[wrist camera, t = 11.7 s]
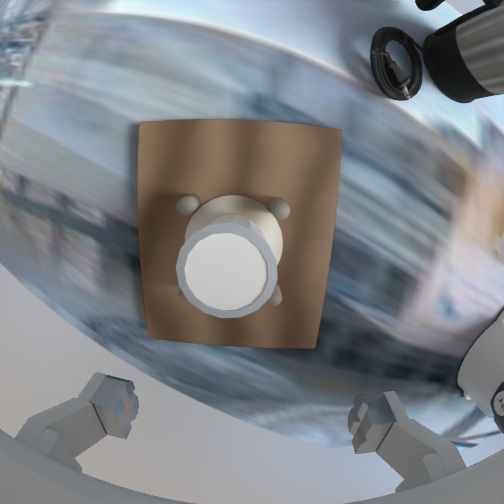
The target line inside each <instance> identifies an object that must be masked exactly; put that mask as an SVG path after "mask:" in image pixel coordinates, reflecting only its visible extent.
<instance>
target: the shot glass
mask: <svg viewBox="0 0 504 504" xmlns="http://www.w3.org/2000/svg"><path fill="white" fill-rule="evenodd" d="M176 272H177V277H178V283H179V286H180V288H181V290H182V291H183V293H184V295H185V296H186V298H187V299H188V301H189V302H190V303H192V304H193V305H194V306H196V307H197V308H198V309H200V310H201V311H202V312H204V313H206V314H210V315H213V316H216V317H219V318H237V317H243V316H245V315H247V314H250V313H252V312H254V311H257V310H258V309H259V308H260V307H261V306H262V305H263V304H264V303H265V302H266V301H267V300H268V299H269V298H270V297H271V295H272V293H273V290H274V287H275V285H276V282H277V280H278V278H277V260H276V258H275V256H274V254H273V252H272V250H271V248H270V246H269V244H268V242H267V241H266V239H265V237H264V235H263V234H262V232H261V230H260V229H259V227H258V226H257V225H256V224H255V223H254V222H253V221H251V220H250V219H249V218H247V217H243V216H240V215H237V214H234V215H223V216H222V217H220V218H218V219H216V220H214V221H212V222H210V223H209V224H207V225H206V226H204V227H202V228H201V229H199V230H198V231H196V232H195V233H193V234H192V235H191V236H190V238H189V239H188V240H187V241H186V243H185V244H184V245H183V246H182V248H181V249H180V252H179V256H178V260H177V264H176Z"/></svg>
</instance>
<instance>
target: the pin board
mask: <svg viewBox="0 0 504 504" xmlns="http://www.w3.org/2000/svg"><path fill="white" fill-rule="evenodd" d="M341 144H342V129H335V128H328V127H321V126H313V125H304V124H294V123H283V122H270V121H253V120H222V119H196V120H166V121H149V122H140V125H139V143H138V177H137V200H138V235H139V253H140V267H141V279H142V289H143V299H144V308H145V316H146V324H147V331H148V338H151V339H159V340H167V341H176V342H186V343H196V344H208V345H221V346H237V347H258V348H315V346H316V341H317V336H318V331H319V326H320V320H321V315H322V309H323V303H324V297H325V291H326V285H327V279H328V272H329V265H330V258H331V250H332V243H333V235H334V226H335V217H336V208H337V198H338V187H339V174H340V161H341ZM234 214H237V215H240V216H243V217H247V218H249V219H250V220H251V221H253V222H254V223H255V224H256V225H257V226H258V227H259V229H260V230H261V232H262V234H263V235H264V237H265V239H266V241H267V242H268V244H269V246H270V248H271V250H272V252H273V254H274V256H275V258H276V260H277V278H278V280H277V282H276V285H275V287H274V290H273V293H272V295H271V297H270V298H269V299H268V300H267V301H266V302H265V303H264V304H263V305H262V306H261V307H260V308H259V309H258V310H257V311H254V312H252V313H250V314H247V315H245V316H243V317H237V318H219V317H216V316H213V315H210V314H206V313H204V312H202V311H201V310H200V309H198V308H197V307H196V306H194V305H193V304H192V303H190V302H189V301H188V299H187V298H186V296H185V295H184V293H183V291H182V290H181V288H180V286H179V283H178V277H177V272H176V264H177V260H178V256H179V252H180V249H181V248H182V246H183V245H184V244H185V243H186V241H187V240H188V239H189V238H190V236H191V235H192V234H193V233H195V232H196V231H198V230H199V229H201V228H202V227H204V226H206V225H207V224H209V223H210V222H212V221H214V220H216V219H218V218H220V217H222V216H223V215H234Z"/></svg>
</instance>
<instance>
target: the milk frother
mask: <svg viewBox="0 0 504 504" xmlns="http://www.w3.org/2000/svg"><path fill="white" fill-rule="evenodd" d="M444 1H445V0H415V3H416V5H417V6H418V8H419V9H420V10H423V11H429V10H432V9H434V8H436V7H438V6H439V5H440V4H441V3H442V2H444ZM483 1H484V3H485V5H483V6H481V7H479V8H477V9H475V10H473V11H471V12H468V13H466V14H464V15H462V16H461V17H459V18H457V19H455V20H454V21H452V22H450V23H449V24H447V25H445V26H443V27H441V28H439V29H438V30H436V31H435V32H434V33H432V34H430V35H429V36H428V37H427V38H426V39H425V41H424V44H423V48H422V47H421V46H420V45H418V44H417V43H416V42H415V41H414V40H413V39H412V38H411V37H410V36H409V35H408V34H406V33H405V32H403V31H402V30H400V29H398V28H394V27H383V28H381V29H379V30H378V31H377V32H376V33H375V35H374V36H373V39H372V43H371V50H370V61H371V69H372V72H373V76H374V78H375V81H376V83H377V85H378V86H379V88H380V89H381V90H382V92H383V93H384V94H385V95H387V96H388V97H389V98H391V99H394V100H399V101H401V100H403V101H404V100H409V99H410V98H412V97H413V96H415V95H416V94H417V93H418V91H419V89H420V87H421V85H422V64H421V60H420V57H419V54H418V52H417V50H416V48H415V46H416V47H417V48H418V49H419V50H420V51H422V52H423V57H424V61H425V64H426V67H427V70H428V72H429V73H430V75H431V77H432V79H433V80H434V82H435V83H436V85H437V86H438V87H439V88H440V89H441V90H442V91H443V92H444V93H445V94H446V95H447V96H448V97H450V98H451V99H453V100H454V101H456V102H460V103H470V102H472V101H473V100H475V99H479V98H483V97H488V96H493V95H500V94H504V0H483ZM391 40H394V41H397V42H399V43H400V44H402V45H403V46H404V48H405V49H406V50H407V52H408V54H409V56H410V59H411V63H412V79H411V82H410V84H409V86H408V87H406V85H407V84H408V83H409V81H410V78H408V77H406V76H405V74H404V73H403V71H402V70H401V69H400V68H399V66H398V65H397V64H396V62H395V61H393V60H392V59H391V57H390V55H389V53H388V52H386V45H387V44H388V42H389V41H391ZM414 45H415V46H414Z"/></svg>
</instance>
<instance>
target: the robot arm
mask: <svg viewBox="0 0 504 504" xmlns="http://www.w3.org/2000/svg"><path fill="white" fill-rule="evenodd" d="M457 381H458V385H459V387H460V388H462V389H463V391H464V397H465V398H466V399H467V400H470V399H471V400H472V401H473V402H474V403H475V404H476V405H477V406H478V407H479V408H480V409H481V410H482V411H483V412H484V413H485V414H486V416H487V417H489V418H493V417H494V421H495V423H496V424H497V426H498V428H499V430H501V431H502V432H503V434H504V310H503V312H502V313H501V314H500V316H499V317H498V319H497V320H496V321H495V322H494V323H493V324H492V325H491V326H490V327H489V328H488V329H486V330H485V331H484V332H483V334H482V335H481V336H480V337H479V338H478V339H477V340H476V342H475V343H474V344H473V346H472V347H471V349H470V350H469V352H468V353H467V355H466V357H465V358H464V360H463V362H462V365H461V367H460V370H459V373H458V379H457ZM134 389H135V387H134V384H133V382H132V381H129V380H125V379H121V378H117V377H113V376H110V375H105V374H101V373H98V372H97V373H95V374H94V375H93V376H92V378H91V379H90V380H89V382H88V384H87V385H86V387H85V388H84V390H83V391H82V392H81V394H80V395H79V397H78V398H72V399H70V400H68V401H66V402H64V403H61V404H59V405H57V406H55V407H52V408H50V409H48V410H46V411H44V412H41V413H39V414H36V415H34V416H32V417H29V419H28V420H27V421H26V423H25V424H24V425H23V427H22V428H21V430H20V431H19V433H18V434H17V435H16V437H15V438H13V437H11V436H10V435H8V434H7V433H5V432H4V431H2V430H1V429H0V504H194V503H188V502H182V501H176V500H171V499H166V498H162V497H157V496H153V495H149V494H145V493H141V492H137V491H134V490H130V489H126V488H124V487H120V486H117V485H114V484H111V483H108V482H105V481H102V480H100V479H97V478H94V477H92V476H89V475H86V474H84V473H81V472H82V468H81V466H80V464H79V463H78V462H77V461H76V459H75V457H76V456H78V455H79V454H81V453H82V452H84V451H85V450H87V449H88V448H90V447H91V446H92V445H94V444H95V443H97V442H98V441H99V440H101V439H102V438H104V437H105V436H106V434H107V435H111V436H115V437H119V438H123V439H127V437H128V435H129V432H130V430H131V428H132V426H131V423H130V422H131V421H132V420H134V419H135V418H136V416H137V413H138V408H139V402H138V397H137V396H136V395H135V394H134V393H133V391H134ZM354 405H355V407H353V408H352V409H351V410H350V412H349V415H348V429H349V432H350V433H351V434H352V435H354V438H353V440H352V443H353V447H354V451H355V454H361V453H367V452H376V453H377V454H378V455H379V456H380V457H381V458H382V459H383V460H385V462H387V463H388V464H389V465H390V466H391V467H392V468H393V469H394V470H395V471H396V472H398V473H399V474H400V475H401V476H402V477H403V478H404V480H403V481H402V482H401V483H400V484H399V486H398V487H397V488H396V489H395V491H396V493H394V494H390V495H386V496H382V497H377V498H372V499H368V500H362V501H357V502H352V503H345V504H504V449H502V450H501V451H499V452H497V453H495V454H493V455H491V456H490V457H488V458H486V459H484V460H482V461H480V462H478V463H476V464H474V465H471V466H469V467H466V465H465V463H464V461H463V459H462V457H461V455H460V453H459V451H458V449H457V448H456V446H455V445H454V444H453V443H451V442H449V441H448V440H446V439H444V438H443V437H441V436H439V435H438V434H436V433H434V432H433V431H431V430H429V429H428V428H426V427H425V426H423V425H421V424H420V423H418V422H417V421H415V420H413V419H411V420H410V419H409V417H408V415H407V413H406V411H405V409H404V407H403V405H402V403H401V401H400V399H399V397H398V396H397V394H396V392H395V391H389V392H382V393H372V394H363V395H357V396H356V397H355V400H354Z"/></svg>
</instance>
